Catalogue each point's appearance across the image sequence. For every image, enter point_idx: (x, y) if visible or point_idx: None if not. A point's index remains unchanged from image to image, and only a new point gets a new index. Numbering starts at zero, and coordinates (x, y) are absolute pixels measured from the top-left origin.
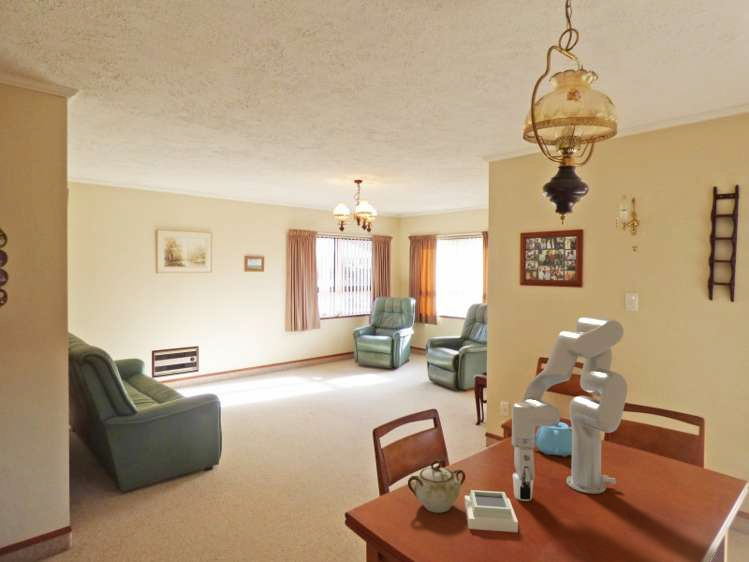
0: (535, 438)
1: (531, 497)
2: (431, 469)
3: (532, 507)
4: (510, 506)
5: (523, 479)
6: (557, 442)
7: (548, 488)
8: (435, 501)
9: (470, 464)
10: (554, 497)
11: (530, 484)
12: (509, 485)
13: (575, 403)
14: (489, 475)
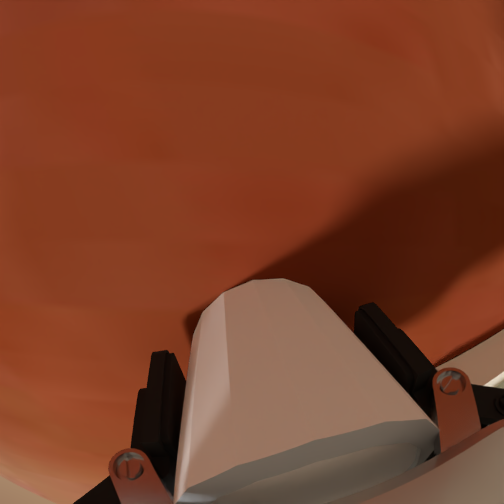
0: None
1: (293, 285)
2: None
3: (415, 267)
4: (496, 380)
5: (397, 472)
6: None
7: (9, 125)
8: None
9: (32, 484)
10: (184, 55)
11: (403, 390)
12: (115, 411)
13: None
14: (66, 463)
